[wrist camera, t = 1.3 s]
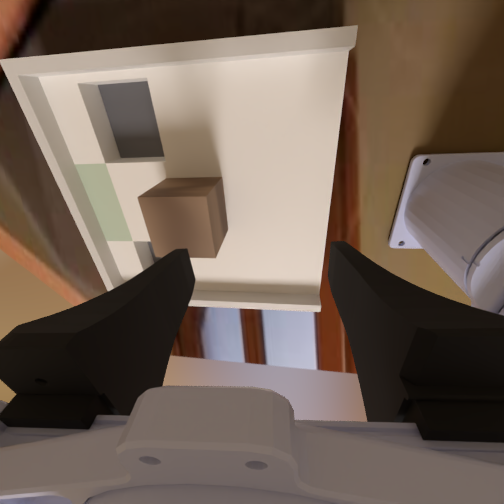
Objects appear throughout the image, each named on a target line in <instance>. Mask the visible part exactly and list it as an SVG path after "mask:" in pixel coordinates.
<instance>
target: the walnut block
mask: <svg viewBox="0 0 504 504" xmlns="http://www.w3.org/2000/svg"><path fill="white" fill-rule="evenodd" d="M137 198H138V202H139V205H140V208H141V211H142V214H143V218H144V221H145V224H146V227H147V231H148V234H149V237H150V240H151V244H152V247H153V250H154V253H155V257H164V256H165V255H167V254H168V253H170V252H171V251H173V250H175V249H185V248H187V249H188V253H189V256H190V258H216V257H217V254H218V252H219V250H220V247H221V245H222V243H223V241H224V238H225V236H226V234H227V232H228V222H227V214H226V205H225V196H224V188H223V179H222V177H196V178H166V179H165V180H163V181H161V182H160V183H158V184H157V185H155V186H154V187H152V188H151V189H149V190H148V191H146V192H145V193H143V194H142V195H140V196H138V197H137Z"/></svg>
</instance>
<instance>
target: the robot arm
mask: <svg viewBox="0 0 504 504" xmlns="http://www.w3.org/2000/svg"><path fill="white" fill-rule="evenodd" d="M425 159H428V162H427V163H426V164H424V165H423V161H424V160H425ZM400 241H403V242H402V243H401V244H398V243H399V242H400ZM388 244H389V246H390V247H392V248H423V249H424V250H425V251H426V252H427V253H428V254H429V255H430V256H431V257H432V258H433V259H434V260H435V261H436V262H437V264H438V265H439V266H440V267H441V268H442V269H443V270H444V271H445V272H446V273H447V274H448V275H449V276H450V277H451V279H452V280H453V281H454V282H455V283H456V284H457V285H458V286H459V287H460V288H461V289H462V290H463V291H464V292H465V294H466V295H467V296H468V297H469V298H470V299H471V302H472V305H471V306H468V305H465V304H462V303H459V302H456V301H453V300H450V299H448V298H445V297H442V296H440V295H437V294H435V293H432V292H430V291H427V290H425V289H423V288H420V287H418V286H416V285H414V284H412V283H410V282H408V281H406V280H404V279H402V278H400V277H398V276H396V275H394V274H392V273H390V272H389V271H387V270H386V269H384V268H382V267H381V266H379V265H377V264H376V263H374V262H373V261H371V260H370V259H369V258H367V257H366V256H364V255H363V254H361V253H360V252H359V251H357V250H356V249H355V248H353V247H352V246H350V245H349V244H348V243H346V242H345V241H337V242H331V248H330V258H329V269H328V279H329V283H330V288H331V292H332V295H333V298H334V300H335V303H336V306H337V308H338V311H339V314H340V316H341V319H342V322H343V324H344V327H345V330H346V332H347V336H348V339H349V342H350V346H351V350H352V354H353V358H354V362H355V366H356V370H357V374H358V379H359V383H360V388H361V392H362V397H363V401H364V406H365V411H366V416H367V421H368V422H356V421H315V420H294V410H293V408H292V406H291V405H290V403H289V401H288V400H287V399H286V398H285V397H283V396H281V395H280V394H278V393H276V392H274V391H272V390H270V389H263V388H256V387H231V386H230V387H229V386H228V387H227V386H162V385H163V381H164V377H165V373H166V369H167V365H168V361H169V357H170V354H171V350H172V347H173V343H174V340H175V337H176V334H177V332H178V329H179V327H180V324H181V322H182V319H183V317H184V315H185V312H186V310H187V307H188V305H189V302H190V300H191V297H192V294H193V290H194V285H195V281H196V279H195V275H194V272H193V268H192V264H191V260H190V256H189V253H188V249H187V248H185V249H175V250H173V251H171V252H170V253H168V254H167V255H165V256H164V257H163V258H161V259H160V260H158V261H157V262H155V263H154V264H153V265H151V266H150V267H148V268H147V269H145V270H144V271H142V272H141V273H139V274H138V275H136V276H134V277H133V278H131V279H130V280H128V281H126V282H125V283H123V284H121V285H120V286H118V287H116V288H114V289H112V290H110V291H108V292H106V293H104V294H102V295H100V296H98V297H95V298H93V299H91V300H89V301H87V302H84V303H82V304H80V305H77V306H74V307H72V308H70V309H67V310H64V311H61V312H59V313H56V314H53V315H50V316H47V317H44V318H40V319H37V320H34V321H31V322H28V323H24V324H21V325H18V326H16V327H15V328H14V329H13V330H12V331H11V332H10V333H9V334H8V335H6V336H5V337H4V338H3V339H2V340H1V341H0V379H1V380H2V381H3V382H4V383H5V384H6V385H7V386H8V387H9V388H10V389H12V390H13V391H14V392H15V393H16V396H15V397H14V398H13V399H12V400H11V401H10V403H7V402H4V401H0V504H504V152H482V153H450V154H419V155H416V156H414V157H413V158H412V159H411V162H410V165H409V169H408V172H407V176H406V180H405V183H404V187H403V190H402V194H401V198H400V201H399V205H398V209H397V212H396V216H395V219H394V223H393V227H392V230H391V234H390V237H389V241H388Z"/></svg>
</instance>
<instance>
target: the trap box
mask: <svg viewBox="0 0 504 504" xmlns="http://www.w3.org/2000/svg"><path fill="white" fill-rule="evenodd" d="M357 28H358V25H356V26H346V27H335V28H325V29H315V30H304V31H294V32H283V33H273V34H263V35H252V36H242V37H232V38H221V39H211V40H200V41H190V42H180V43H169V44H159V45H149V46H138V47H128V48H117V49H107V50H97V51H86V52H76V53H66V54H55V55H45V56H34V57H24V58H14V59H3V60H0V63H1V65H2V68H3V70H4V72H5V74H6V76H7V78H8V80H9V82H10V84H11V87H12V89H13V91H14V93H15V95H16V97H17V99H18V101H19V104H20V106H21V108H22V110H23V112H24V114H25V116H26V118H27V120H28V123H29V125H30V127H31V129H32V131H33V133H34V135H35V137H36V140H37V142H38V144H39V146H40V148H41V150H42V152H43V154H44V156H45V159H46V161H47V163H48V165H49V167H50V169H51V171H52V173H53V176H54V178H55V180H56V182H57V184H58V186H59V188H60V190H61V193H62V195H63V197H64V199H65V201H66V203H67V205H68V207H69V209H70V212H71V214H72V216H73V218H74V220H75V222H76V224H77V226H78V229H79V231H80V233H81V235H82V237H83V239H84V241H85V243H86V245H87V248H88V250H89V252H90V254H91V256H92V258H93V260H94V262H95V265H96V267H97V269H98V271H99V273H100V275H101V277H102V279H103V281H104V284H105V286H106V288H107V290H108V291H110V290H112V289H114V288H116V287H118V286H120V285H121V284H123V283H125V282H126V281H128V280H130V279H131V278H133V277H134V276H136V275H138V274H139V273H141V272H142V271H144V270H145V269H147V268H148V267H150V266H151V265H153V264H154V263H155V262H157V261H158V260H160V259H161V258H163V257H155V253H154V250H153V247H152V244H151V240H150V237H149V234H148V231H147V227H146V224H145V221H144V218H143V214H142V211H141V208H140V205H139V202H138V198H137V197H138V196H140V195H142V194H143V193H145V192H146V191H148V190H149V189H151V188H152V187H154V186H155V185H157V184H158V183H160V182H161V181H163V180H165V179H166V178H196V177H222V179H223V188H224V196H225V205H226V214H227V222H228V232H227V234H226V236H225V238H224V241H223V243H222V245H221V247H220V250H219V252H218V254H217V257H216V258H190V260H191V264H192V268H193V272H194V275H195V279H196V281H195V285H194V290H193V294H192V297H191V300H190V302H189V305H188V306H202V307H224V308H245V309H267V310H289V311H310V312H320V310H321V302H320V297H319V292H320V284H321V275H322V267H323V259H324V251H325V242H326V234H327V226H328V218H329V210H330V201H331V193H332V185H333V177H334V168H335V160H336V152H337V144H338V136H339V127H340V119H341V111H342V103H343V94H344V86H345V78H346V70H347V62H348V53H349V50H351V49H352V48H353V47H354V46H355V43H356V36H357Z"/></svg>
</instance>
